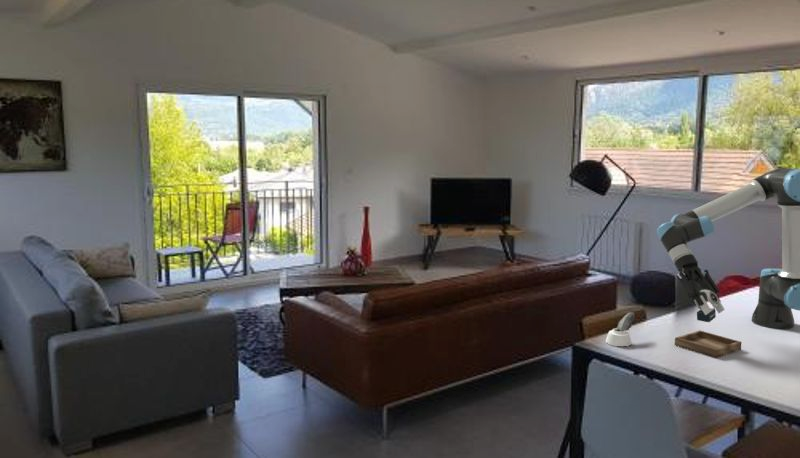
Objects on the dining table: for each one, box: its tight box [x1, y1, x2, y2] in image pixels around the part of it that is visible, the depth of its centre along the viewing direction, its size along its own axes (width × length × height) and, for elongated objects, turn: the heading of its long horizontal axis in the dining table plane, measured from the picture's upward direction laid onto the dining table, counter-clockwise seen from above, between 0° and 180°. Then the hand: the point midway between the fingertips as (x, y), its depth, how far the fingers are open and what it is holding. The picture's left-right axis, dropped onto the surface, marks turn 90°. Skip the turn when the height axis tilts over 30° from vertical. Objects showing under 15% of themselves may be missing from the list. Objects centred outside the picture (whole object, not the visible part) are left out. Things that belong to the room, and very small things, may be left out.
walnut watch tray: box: [674, 329, 743, 359], centre depth 229 cm, size 16×16×3 cm
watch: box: [693, 288, 719, 323], centre depth 228 cm, size 6×8×11 cm
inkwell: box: [605, 311, 635, 347], centre depth 237 cm, size 9×18×10 cm, turn 139°
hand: (714, 312), depth 225 cm, fingers closed on watch, 6 cm apart
